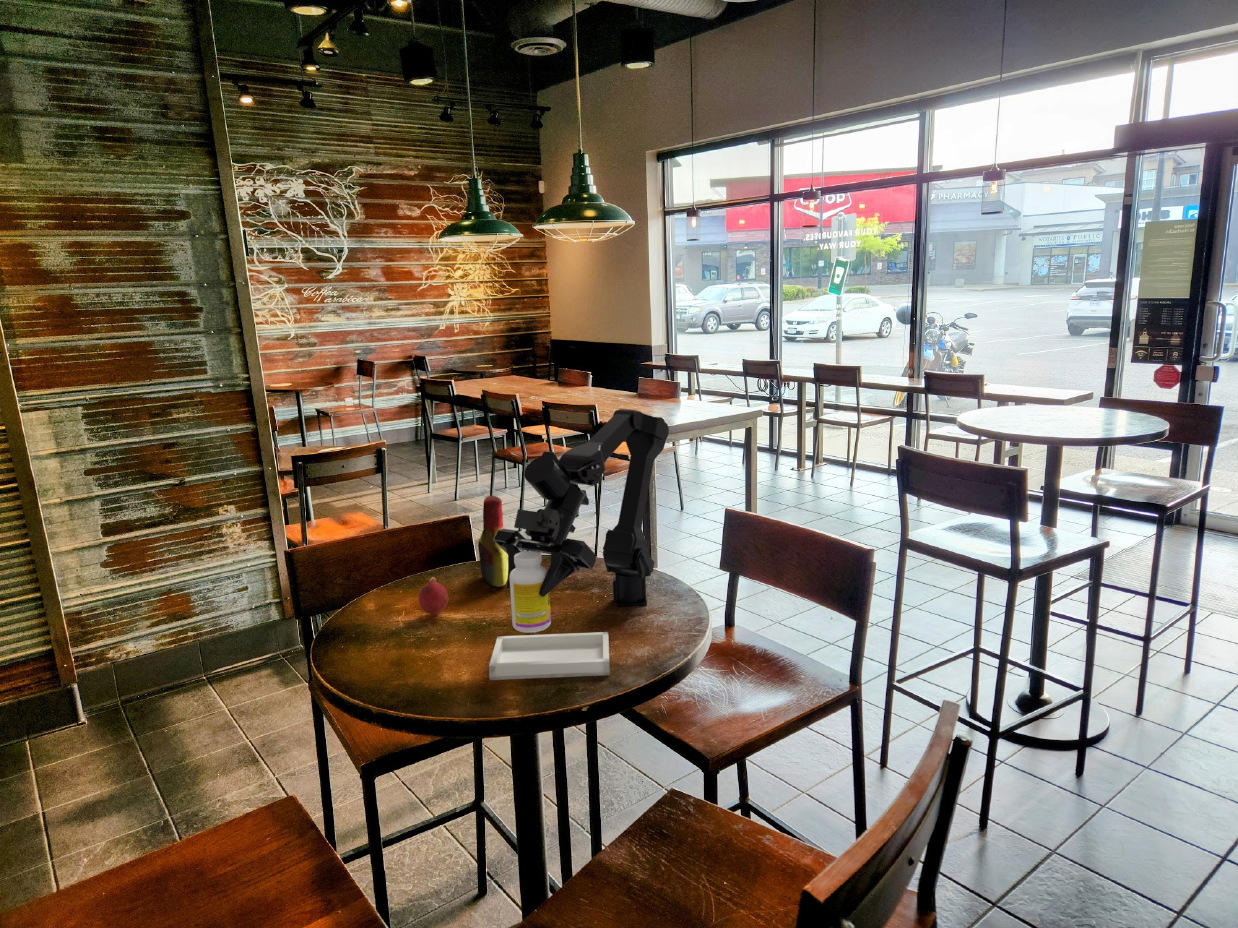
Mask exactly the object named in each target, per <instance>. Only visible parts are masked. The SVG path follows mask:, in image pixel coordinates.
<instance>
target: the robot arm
mask: <svg viewBox="0 0 1238 928" xmlns="http://www.w3.org/2000/svg"><path fill="white" fill-rule="evenodd" d="M669 430H670V429H669V425H668V423H666V421H665V419H664V418H663V417H661V416H652V415H648V414H646V413H644V412H641V411H640V410H637V409H629V408H628V409H627V408H619V409H616V410H615V411H614V413H613V414H612V417H611V418H610V419H608V421H607V422H606V423H605V424H604V425H602V427H601V428H599V430H598V431H597V432H596V433H595V434H594V435H593V436H592V437H591V438H590V439H589V440H587V441H586V442H585V443H583V444H580V445H577V446H573V447H572V448H570V449H569V450H567V451H566V452H564V453H563V454H562V455H561V456H560V458H559V459H558V456H557V455H556V453H555V452H554V451H545V450H544V451H543V452H542V454H541V456H538V457H535V458H534V459H533V460H531V461H530V462H529V463H528V464H526V466H525V469H524V473H523V475H524V479H525V480H526V481H527V482H528V484H530V486H531V487H532V488H533V489H534V491H536V492H537V493H538V494H539V496H540V497H541V498H542V499H544V500H546V501H547V502H546V503H545V507H544V508H539V509H537V510H536V511H534V510H527V509H526V510H525V509H517V511H516V515H515V520H514V526H513V527H514V529H509V528H503V529H500V530H498V531H497V533H496V535H495V537H494V540H493V541H494V542H495V543H496V544H497V545H499V546H500V547H501V548H502V549H503V550H504V551H505V552H506V553H507V554H508V578H507V581H506V588H507V590H509V591H510V578H509V577H510V573H511V571H512V570H513V569H515V568H516V565H515V563H514V555H516V554H517V553H520V552H525V551H535V552H539V553H541V554H545V555H546V554H547V555H550V565H549V568H548V570H547V571H548V572H547V574H546V576H545V579H544V581H543V583H542V586H541V589H540V592H539V595H540V596H541V597H544V596H545V595H546V594H548V593H549V594H550V592H551V591H552V590H553V589H555V588H556V587H557V586H558V585H559V584H560V583H562V581H564V580H566V579H567V578H568V577H570V576H571V575H573V573H575V572H576V573H578V572H580V570H581V569H583V570H590V571H591V570H593V568H594V566H595V564H596V561H597V560H596V558H597V557H596V554H595V552H594V551H593V550H592V549H591V548H590V547H589V545H588V544H587V543H586V542H585V541H584V540H580V539H574V538H568V536H569V534H570V533H572V534H573V533H574V532H575V531H576V527H575V525H574V521H575V519H576V517H577V515H578V512H579V510H580V508H581V506H583V505H584V506H588V505H590V500H589V498H588V494H587V491H586V490H585V489H581V487H580V486H578V485H583V486H595V485H596V484H597V483H598V481H599V480H600V479H601V477H602V476H603V474H604V472H605V471H606V461H607V460H608V459H609V458H610V456H612V455H613V453H614V452H615V451H616V450H617V449H618V448H619V447H620V446H621V445H622V444H623V443H624V442H625V445H626V447H627V449H628V452H629V455H630V457H629V463H628V467H627V468H628V470H627V473H626V478H625V484H624V489H623V495H622V500H621V507H620V510H619V517H618V522H617V524H616V525H615V526H614V527H613V529H608V530H607V531H606V533H605V540H604V544H603V546H602V558H603V561H604V565H605V569H606V572H607V573H612V574H614V576H613V577H612V578H611V579H612V583H611V584H612V600H613V601H615V606H616V607H620V606H622V607H625V606H628V607H629V606H646V605H648V599H647V581H646V577H651V576H652V573H653V572H654V567H655V561H654V560H653V558H652V557H651V556H650V555H649V553H648V552H647V544H648V542H647V540H646V536H645V534H644V531H643V521H644V516H645V511H646V505H647V500H648V493H649V489H650V488H649V487H650V483H651V477H652V472H653V467H654V462H655V460H656V459H657V457H658V456H659V455H660V454H661V453H662V452H663V450H664V448H665V445H666V441H667V438H668V436H669ZM515 529H522V530H525V532H524V533H525V534H526V536H528V537H530V538H529V539H527V538H525V537H524V536H523V535H522V534H521V533H520V532H519V531H518V530H515Z"/></svg>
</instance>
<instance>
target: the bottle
mask: <svg viewBox="0 0 1238 928" xmlns="http://www.w3.org/2000/svg"><path fill="white" fill-rule="evenodd" d="M482 507H483V508H482V509H483V510H482V519H483V521H482V522H483V523H482V524H483V526H482V527H483V529H482V532H481V534H480V537H479V540H478V542H477V544H478V546H477V547H478V555H479V562H480V563H479V565H480V573H481V576H482V578H483V579H484V580H485V582H486V583H487V584H489V585H490V586H492V587H498V588H499V587H504V586H505V585H507V579H508V567H509V558H508V554H507V553H506V552H505V551H504V550H503V549H502V548H501V547H500V546H499V545H497V544H496V543H495V542H494V541H493V540H494V537H495V535H496V533H497V531H498V530H500V529H504V520H503V519H504V516H503V514H504V513H503V501H502V499H501V498H500V497H498V496H496V495H489V496H488V495H487V497H485V498H484V500H483V506H482Z"/></svg>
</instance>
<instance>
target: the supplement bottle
mask: <svg viewBox="0 0 1238 928" xmlns="http://www.w3.org/2000/svg"><path fill="white" fill-rule="evenodd" d="M542 562H543V555H542V553H539V552H535V551H525V552H520V553H517V554H516V555H514V563H515V565H516V568H515V569H513V570H512V571H511V573H510V577H509V578H510V590H509V591H510V606H511V607H510V609H511V623H512V627H513V628H514V629H515V630H516V631H518V632H521V633H529V634H530V633H532V634H533V633H538V632H542V631H544V630H546V629H547V628H549V627H550V626H551V624H552V615H551V614H552V612H551V611H552V610H551V598H550V597H551V596H550V592H549V593H548V594H546V595H545V596H544V597H541V596H540V595H539V592H540V589H541V586H542V583H543V581H544V579H545V576H546V574H547V572H548V570H547V568H546V567H544V566H542Z"/></svg>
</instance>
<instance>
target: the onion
mask: <svg viewBox="0 0 1238 928" xmlns="http://www.w3.org/2000/svg"><path fill="white" fill-rule="evenodd" d="M448 602H449V592H448V591H447V588H445V586H443V585H442V584H441V583H439V582H437V579H436V578H435V577H431V578H430V579H429V581H428V582H427V583H426V584H425V585H423V587H422V588H421V590H420V592H419V595H418V605H419V606H420V608H421V609H422V611H424V612H425V613H427V614H428V615H432V617H433V616H435V617H436V616H438V615H439V614H440V613H441V612H442V611H443V610H444V609H445V608H446V607H447V605H448Z"/></svg>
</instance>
